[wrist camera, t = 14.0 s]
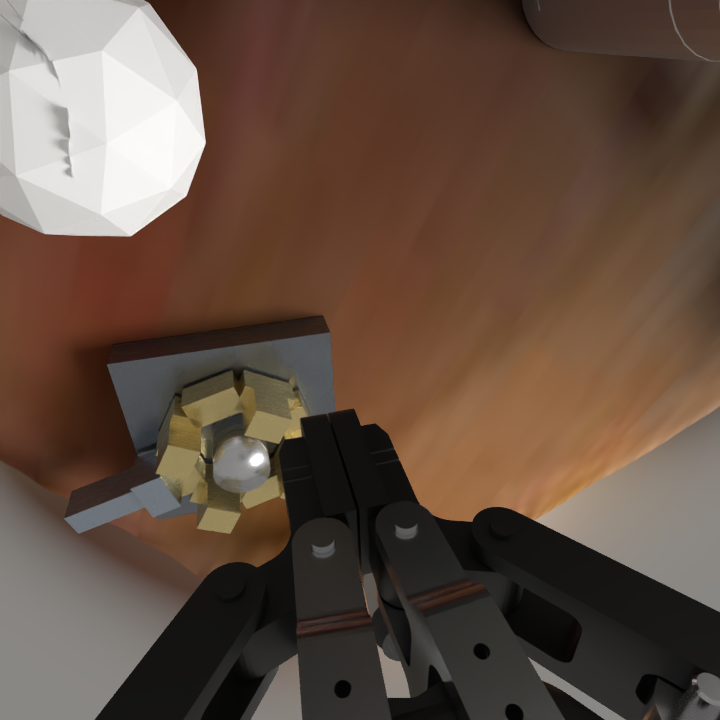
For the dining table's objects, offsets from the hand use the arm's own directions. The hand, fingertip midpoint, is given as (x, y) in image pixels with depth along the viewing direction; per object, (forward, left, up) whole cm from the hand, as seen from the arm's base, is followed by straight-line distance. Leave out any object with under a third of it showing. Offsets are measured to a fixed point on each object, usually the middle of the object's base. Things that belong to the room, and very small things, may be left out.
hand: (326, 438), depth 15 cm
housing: (+4, +20, -29) cm, 35 cm away
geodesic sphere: (+9, -6, -29) cm, 31 cm away
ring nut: (+8, +21, -26) cm, 34 cm away
